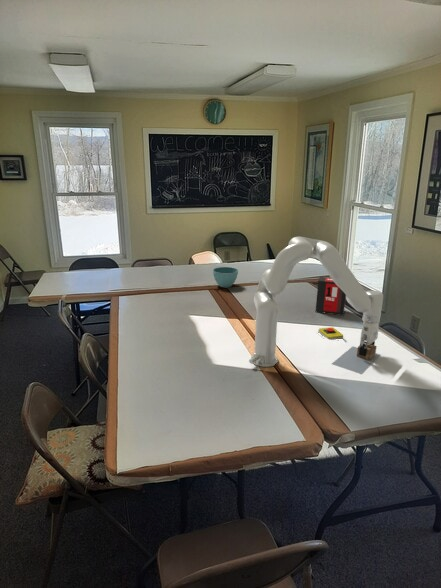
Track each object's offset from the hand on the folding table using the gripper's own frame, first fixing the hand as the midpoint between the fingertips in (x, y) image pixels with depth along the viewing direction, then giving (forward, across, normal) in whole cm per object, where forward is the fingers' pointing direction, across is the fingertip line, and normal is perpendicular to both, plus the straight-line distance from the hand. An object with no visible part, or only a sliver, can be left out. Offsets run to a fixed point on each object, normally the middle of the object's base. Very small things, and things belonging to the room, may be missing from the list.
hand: (366, 351), depth 190 cm
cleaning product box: (+4, +48, +41) cm, 63 cm away
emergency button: (+4, +13, +24) cm, 27 cm away
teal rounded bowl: (+4, +45, +122) cm, 130 cm away
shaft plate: (+4, -6, +2) cm, 7 cm away
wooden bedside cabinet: (+2, 0, 0) cm, 2 cm away
